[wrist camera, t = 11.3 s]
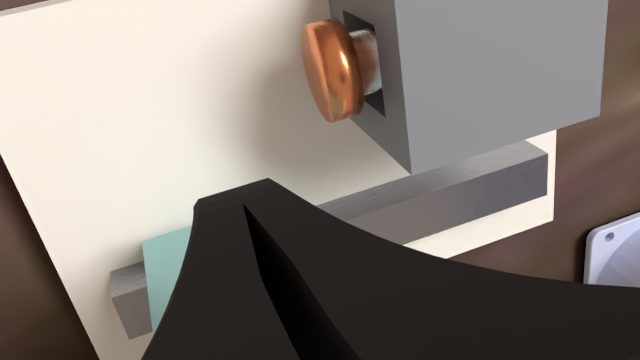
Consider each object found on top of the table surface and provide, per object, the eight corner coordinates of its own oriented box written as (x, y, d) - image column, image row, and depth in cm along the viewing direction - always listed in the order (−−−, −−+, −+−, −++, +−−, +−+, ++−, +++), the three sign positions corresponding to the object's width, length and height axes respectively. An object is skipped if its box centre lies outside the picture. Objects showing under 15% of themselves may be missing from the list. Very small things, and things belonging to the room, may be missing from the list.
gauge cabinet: (497, -79, 19) (613, -69, 15) (499, 69, 21) (599, 115, 17) (322, -38, 18) (393, -15, 13) (346, 114, 20) (412, 175, 16)
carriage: (260, 190, 20) (309, 283, 15) (288, 304, 22) (338, 414, 17) (140, 227, 19) (153, 338, 14) (183, 341, 21) (206, 467, 17)
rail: (523, 138, 23) (548, 153, 22) (523, 178, 24) (546, 195, 23) (110, 271, 20) (111, 298, 19) (127, 311, 21) (129, 339, 19)
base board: (545, -111, 20) (564, -111, 19) (538, 209, 26) (553, 220, 26) (-52, 22, 16) (-60, 30, 15) (108, 360, 22) (109, 378, 22)
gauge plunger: (483, -32, 18) (540, -19, 16) (485, 55, 20) (538, 79, 17) (295, 15, 17) (326, 36, 15) (311, 104, 18) (342, 137, 16)
